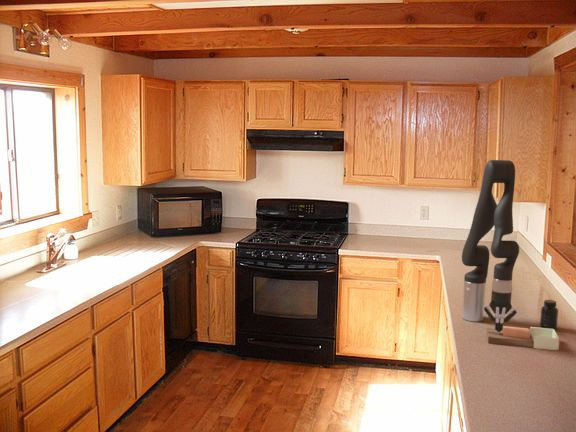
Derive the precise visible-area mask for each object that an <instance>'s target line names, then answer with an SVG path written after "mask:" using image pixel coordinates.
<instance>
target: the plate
mask: <svg viewBox="0 0 576 432" xmlns="http://www.w3.org/2000/svg"><path fill="white" fill-rule="evenodd" d="M485 334H486V339H487V343H488V344H494V345H504V346H512V347H513V346H514V347H525V348H533V347H534V340H533V338H532V336H531V333H530V339H528V338H518V337H508V336H503V334H502V331H501V332H497V330H496V329H495V328H487V327H486V331H485ZM533 349H534V348H533Z"/></svg>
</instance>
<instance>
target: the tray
mask: <svg viewBox="0 0 576 432" xmlns="http://www.w3.org/2000/svg"><path fill="white" fill-rule="evenodd" d="M529 331H530V333H531V336H532V338H533V340H534V347H533V349H539V350H549V351H559V348H560V337H559V336H558V334H557V333H556V330H554V329H548V328H541V327H534V326H530V327H529Z"/></svg>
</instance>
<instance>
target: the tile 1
mask: <svg viewBox="0 0 576 432" xmlns="http://www.w3.org/2000/svg"><path fill="white" fill-rule="evenodd" d="M502 334H503V336H508V337H516V335H517V330H516V326H505V325H503V330H502Z"/></svg>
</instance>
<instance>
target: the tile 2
mask: <svg viewBox="0 0 576 432" xmlns="http://www.w3.org/2000/svg"><path fill="white" fill-rule="evenodd" d="M515 327H516V326H515ZM516 330H517V335H516V337H518V338H528V339H530V328H527V327H518V326H517V327H516Z"/></svg>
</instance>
